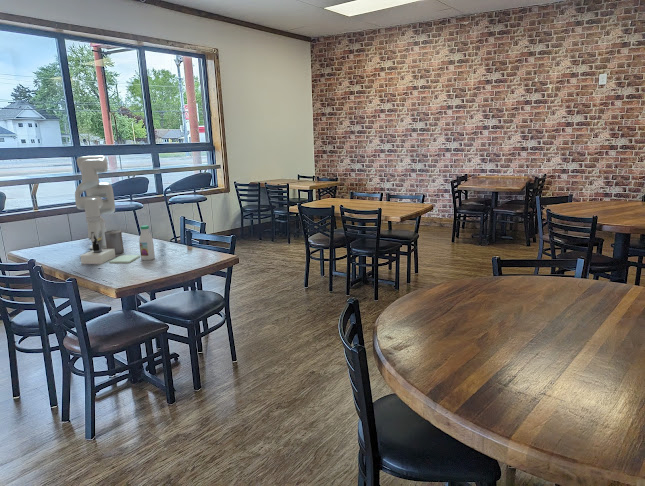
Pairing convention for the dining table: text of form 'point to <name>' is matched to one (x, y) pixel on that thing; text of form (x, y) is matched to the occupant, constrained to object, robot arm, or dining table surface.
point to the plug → (99, 245)
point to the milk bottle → (146, 244)
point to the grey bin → (114, 241)
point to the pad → (125, 259)
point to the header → (97, 256)
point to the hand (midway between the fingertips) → (97, 249)
